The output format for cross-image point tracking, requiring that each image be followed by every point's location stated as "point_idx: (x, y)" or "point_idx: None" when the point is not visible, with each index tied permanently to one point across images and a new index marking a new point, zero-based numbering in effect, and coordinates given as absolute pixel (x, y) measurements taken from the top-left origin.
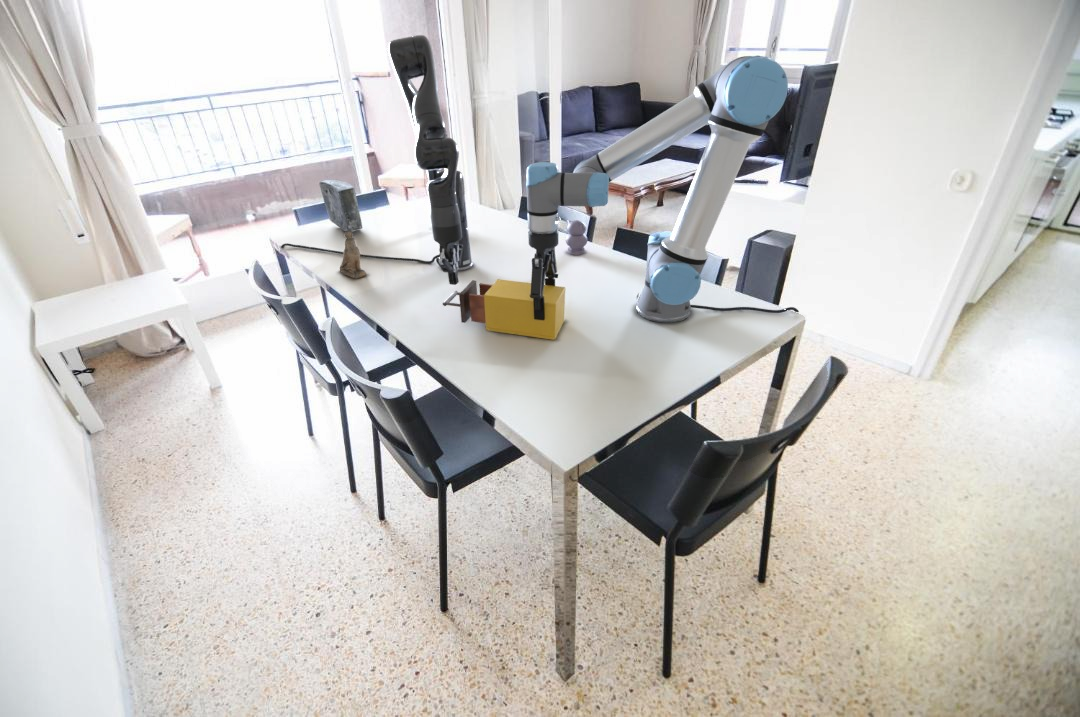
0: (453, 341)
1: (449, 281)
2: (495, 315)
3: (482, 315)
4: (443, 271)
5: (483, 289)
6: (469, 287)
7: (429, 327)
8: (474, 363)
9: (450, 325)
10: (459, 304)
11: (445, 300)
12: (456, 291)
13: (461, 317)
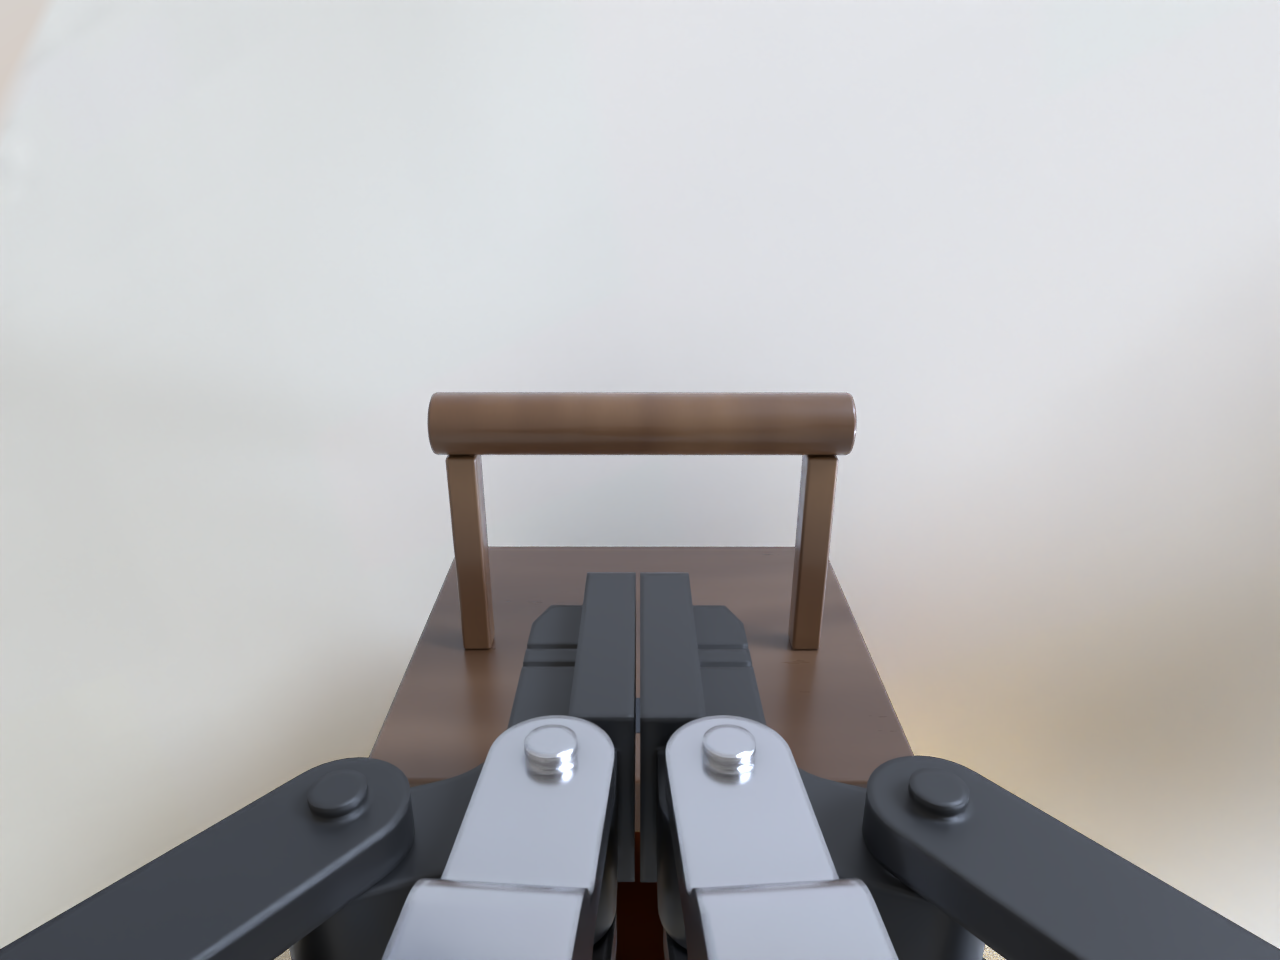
0: (238, 524)
1: (530, 633)
2: None
3: None
4: (297, 785)
5: None
6: (635, 830)
7: (415, 153)
8: (7, 794)
9: (520, 367)
10: (469, 623)
11: (490, 422)
12: (836, 447)
13: (445, 581)
